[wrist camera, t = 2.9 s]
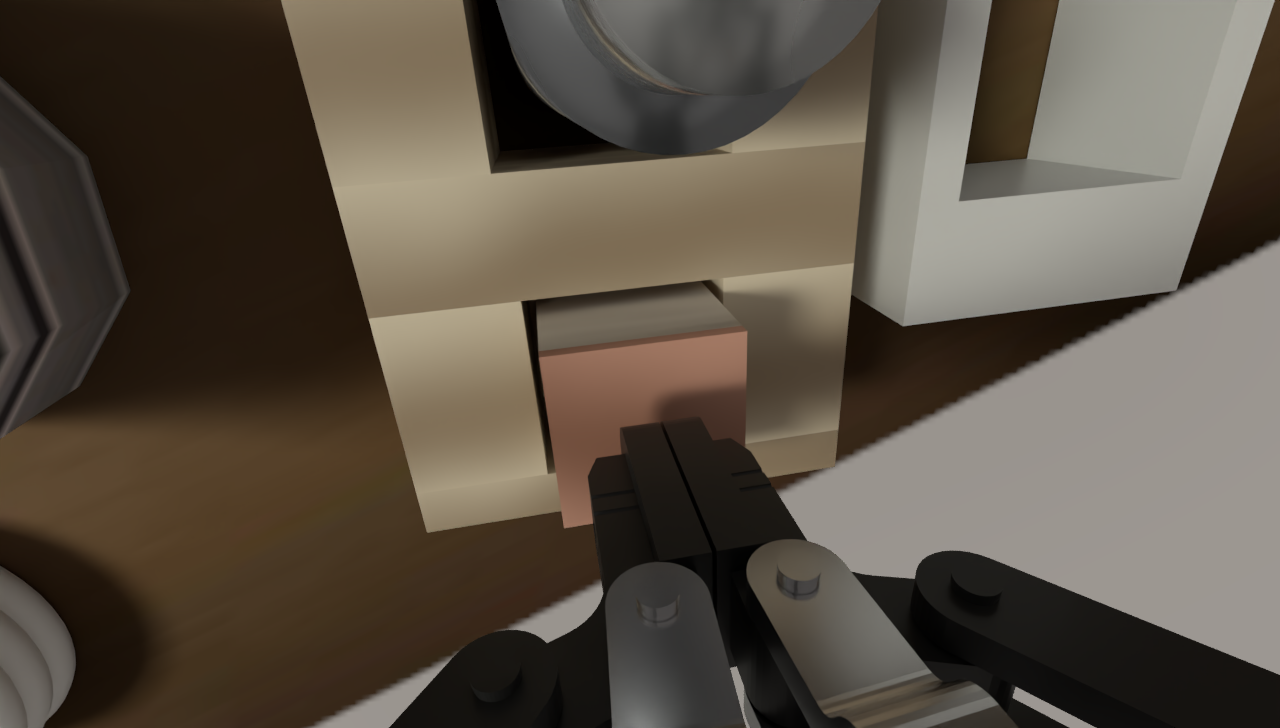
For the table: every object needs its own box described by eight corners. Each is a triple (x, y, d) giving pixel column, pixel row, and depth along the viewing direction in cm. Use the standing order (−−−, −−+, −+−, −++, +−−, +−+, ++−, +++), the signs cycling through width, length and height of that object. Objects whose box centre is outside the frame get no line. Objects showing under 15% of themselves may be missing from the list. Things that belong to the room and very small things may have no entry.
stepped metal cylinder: (500, -36, 15) (402, -546, 3) (644, -42, 15) (1056, -502, 3) (522, 121, 16) (514, 200, 4) (652, 112, 17) (953, 159, 5)
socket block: (315, -148, 13) (206, -272, 9) (787, -155, 15) (903, -264, 10) (449, 431, 20) (427, 532, 15) (768, 386, 21) (834, 466, 16)
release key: (535, 286, 15) (538, 357, 11) (689, 268, 15) (747, 331, 11) (554, 422, 17) (564, 528, 13) (692, 403, 17) (744, 498, 13)
